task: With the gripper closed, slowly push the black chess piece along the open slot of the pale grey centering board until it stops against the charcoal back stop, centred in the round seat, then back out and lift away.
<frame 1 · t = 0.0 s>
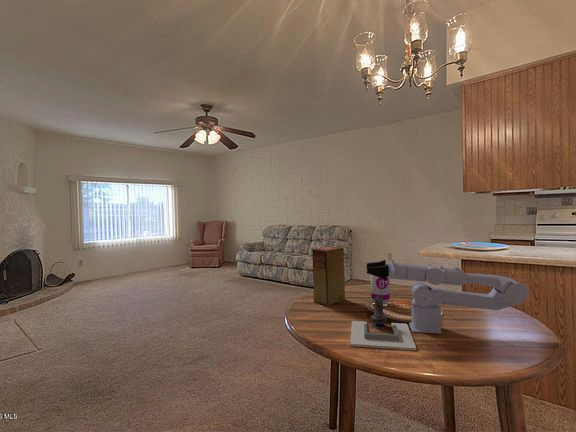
hand: (366, 268, 116), 22 cm above the table, tool horizontal, fingers open, 7 cm apart
supplement can: (380, 304, 141), on the table
black chess piece: (379, 326, 116), on the table
food packaging: (329, 301, 148), on the table
centering board: (380, 335, 108), on the table
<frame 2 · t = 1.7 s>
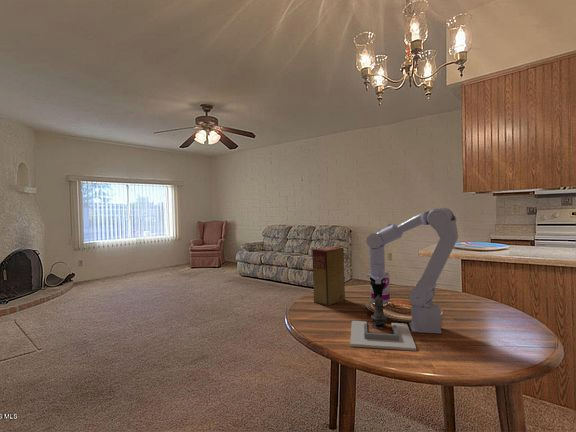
hand: (377, 297, 124), 8 cm above the table, tool pointing down, fingers open, 6 cm apart
nothing on the table moved.
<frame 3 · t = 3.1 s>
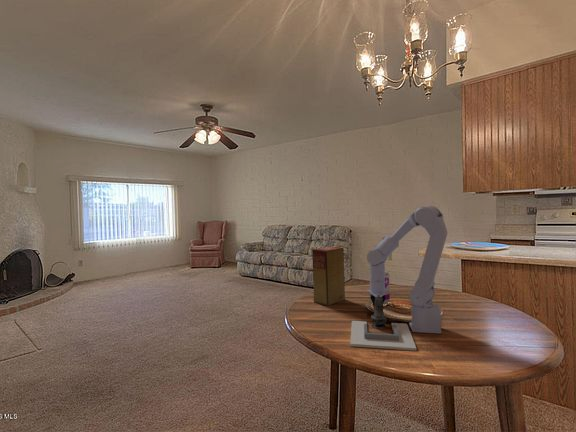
hand: (377, 313, 124), 2 cm above the table, tool pointing down, fingers closed
nothing on the table moved.
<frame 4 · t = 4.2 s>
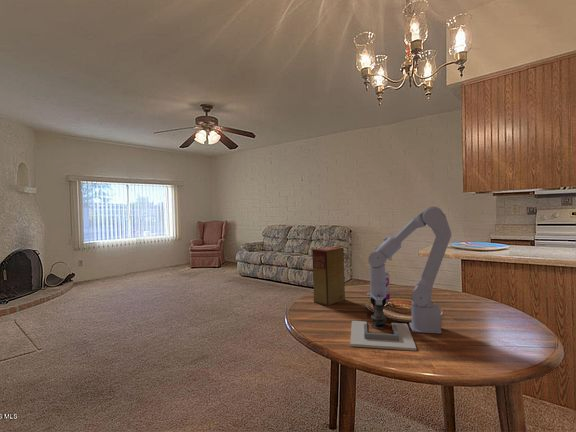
hand: (378, 317, 120), 2 cm above the table, tool pointing down, fingers closed
black chess piece: (379, 326, 116), on the table, touching gripper
everything else where it was.
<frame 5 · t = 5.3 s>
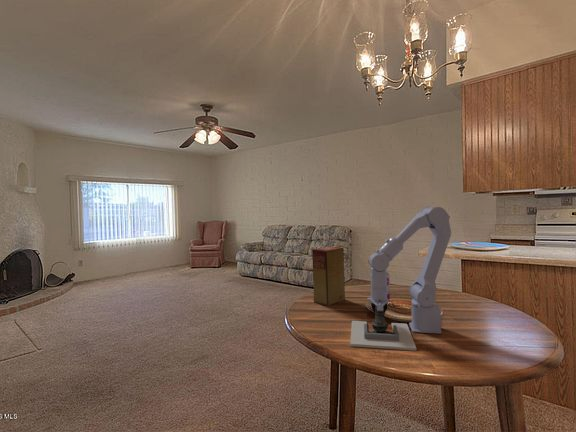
hand: (379, 323, 114), 2 cm above the table, tool pointing down, fingers closed
black chess piece: (380, 333, 110), on the table, touching gripper
everything else where it was.
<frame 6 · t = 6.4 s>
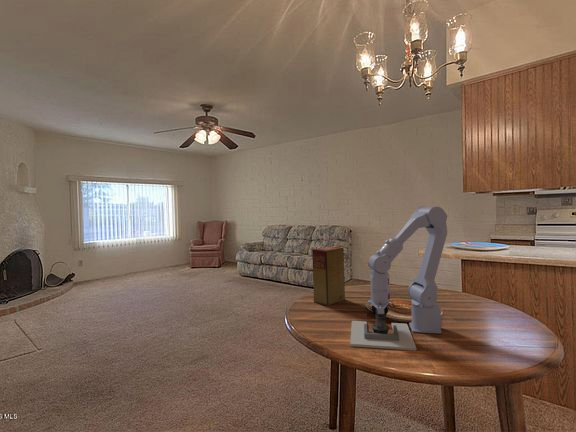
hand: (380, 327, 111), 2 cm above the table, tool pointing down, fingers closed
black chess piece: (380, 337, 107), on the table, touching gripper
everything else where it was.
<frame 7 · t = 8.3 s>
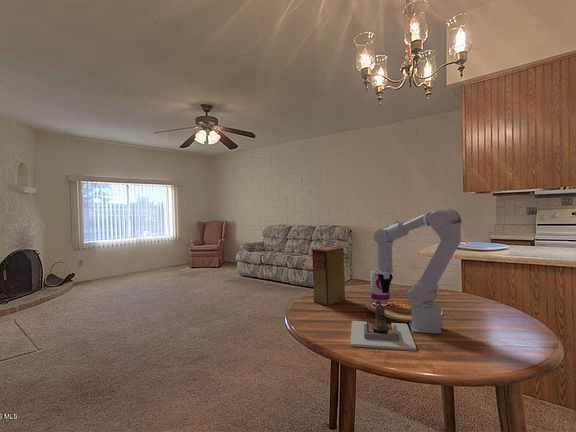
hand: (385, 292, 125), 10 cm above the table, tool pointing down, fingers closed
black chess piece: (380, 337, 107), on the table
everything else where it was.
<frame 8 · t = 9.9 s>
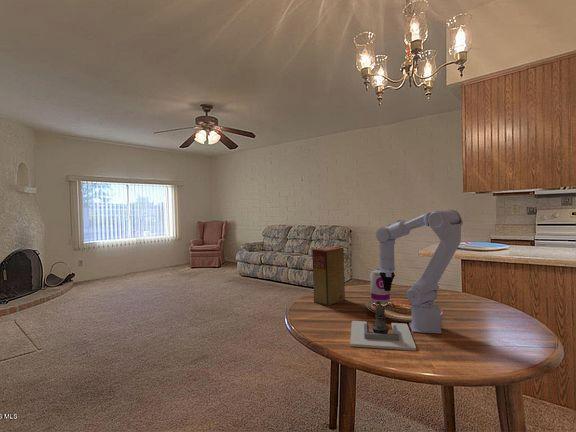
hand: (387, 290, 126), 10 cm above the table, tool pointing down, fingers closed
nothing on the table moved.
at the end: black chess piece 1.5 cm from the centering board (horizontally); black chess piece tilted 0°; the gripper is holding nothing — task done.
